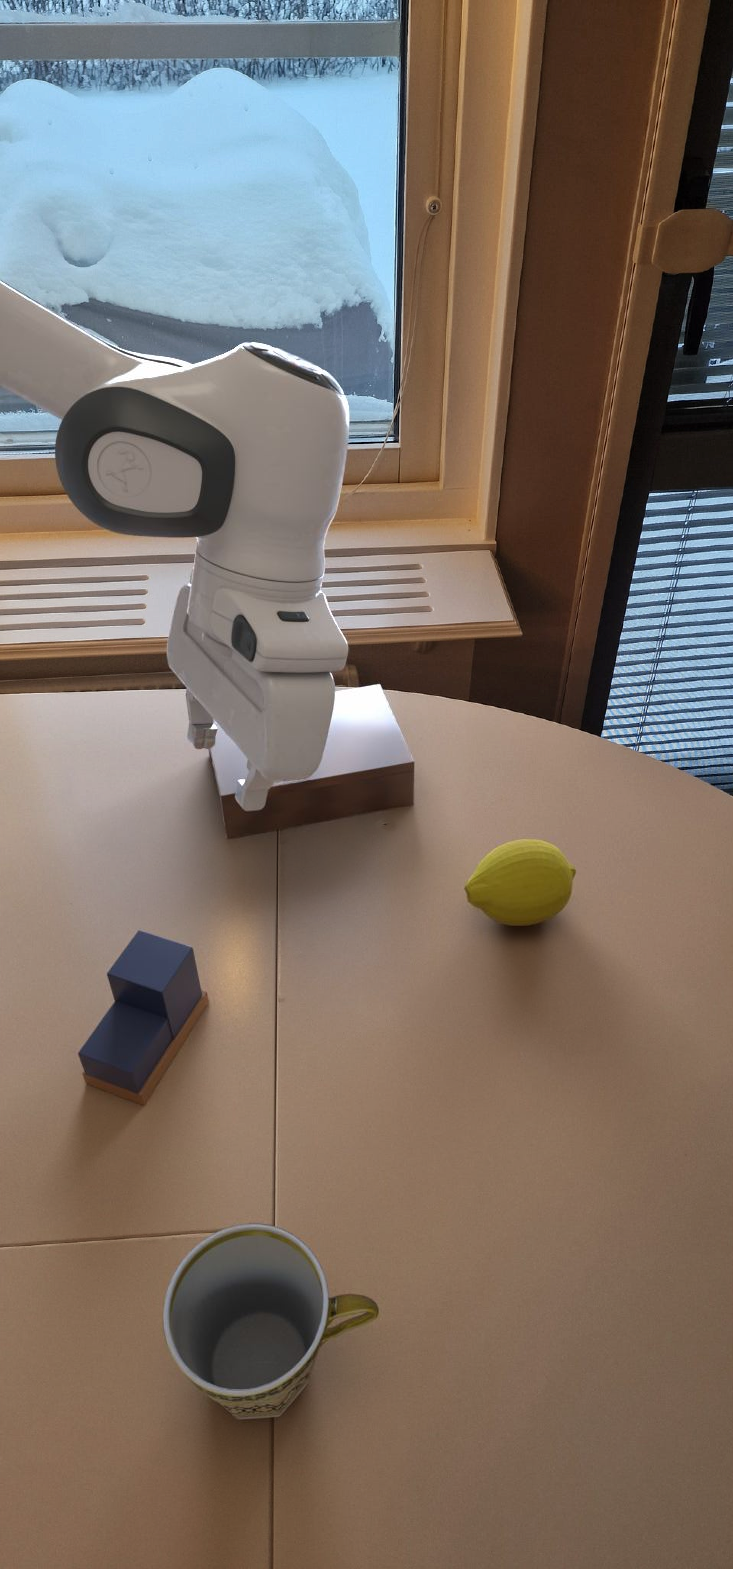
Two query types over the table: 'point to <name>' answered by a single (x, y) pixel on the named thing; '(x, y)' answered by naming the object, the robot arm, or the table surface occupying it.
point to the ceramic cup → (253, 1317)
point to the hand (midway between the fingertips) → (223, 774)
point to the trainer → (144, 1017)
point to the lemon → (521, 882)
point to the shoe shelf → (327, 771)
